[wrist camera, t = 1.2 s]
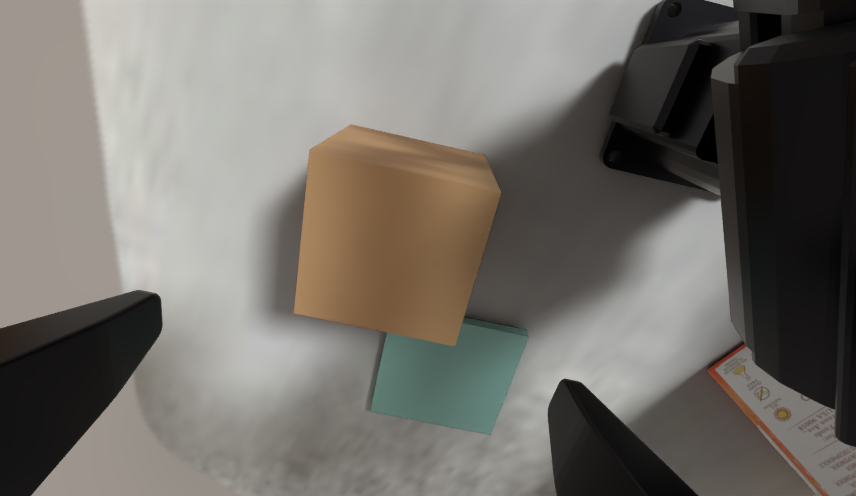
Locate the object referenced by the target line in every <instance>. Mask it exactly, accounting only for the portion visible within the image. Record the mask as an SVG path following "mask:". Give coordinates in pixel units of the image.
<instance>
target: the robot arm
mask: <svg viewBox="0 0 856 496" xmlns="http://www.w3.org/2000/svg"><path fill="white" fill-rule="evenodd" d="M670 4H674V5H675V6H676V13H675V15H674V16H673V17H672V18H671V17H669V16H668V13H667V11H668V7H669V6H670ZM733 5H734V8H732V7H728V6H724V5H721V4H717V3H713V2H709V1H705V0H662V1H661V2H660V3H659V5H658V6H657V8H656V11H655V13H654V16H653V18H652V21H651V24H650V26H649V29H648V31H647V34H646V36H645V39H644V42H643V44H642V45H641V46H640V47H638V48H636V49H635V50H634V51H633V53H632V56H631V59H630V61H629V64H628V67H627V69H626V72H625V74H624V77H623V80H622V82H621V85H620V87H619V90H618V93H617V95H616V98H615V100H614V103H613V106H612V108H611V111H610V116H611V119H612V124H611V126H610V129H609V131H608V134H607V136H606V139H605V141H604V144H603V147H602V149H601V152H600V156H599V157H600V161H601V162H602V164H603V165H605V166H607V167H609V168H611V169H616V170H620V171H624V172H629V173H633V174H637V175H642V176H646V177H650V178H655V179H659V180H663V181H668V182H672V183H676V184H681V185H685V186H689V187H694V188H698V189H702V190H707V191H711V192H713V193H715V194H717V195H719V196H721V207H722V219H723V231H724V243H725V255H726V267H727V279H728V291H729V303H730V315H731V322H732V324H733V325H734V327H735V329H736V330H737V332H738V333H739V335H740V337H741V338H742V340H743V342H744V343H745V345H746V346H747V347H748V348H749V349H750V350H751V351H752V360H753V362H754V363H755V365H757V366H758V367H759V368H761V369H762V370H763V371H765V372H766V373H767V374H769V375H770V376H771V377H773V378H774V379H775V380H777V381H778V382H779V383H781V384H783V385H784V386H786V387H788V388H790V389H792V390H794V391H796V392H798V393H800V394H802V395H804V396H806V397H808V398H810V399H811V400H813V401H815V402H817V403H819V404H821V405H824V406H826V407H829V408H831V409H834V410H835V425H834V434H835V437H836V438H837V439H838V440H839V441H840V442H842V443H844V444H846V445H850V446H853V447H856V0H733ZM613 151H617V153H618V154H617V157H616V159H614V160H612V161H609V155H610V153H611V152H613ZM161 330H162V308H161V298H160V296H159V295H158V294H156V293H152V292H147V291H142V290H136V291H132V292H129V293H125V294H122V295H118V296H115V297H111V298H107V299H104V300H100V301H97V302H93V303H90V304H86V305H83V306H79V307H75V308H72V309H68V310H65V311H61V312H57V313H54V314H50V315H47V316H44V317H40V318H36V319H32V320H29V321H26V322H22V323H18V324H15V325H11V326H7V327H4V328H0V496H31V495H32V494H33V493H34V491H35V490H36V489H37V488H38V487H39V485H40V484H41V483H42V482H43V481H44V480H45V479H46V477H47V476H48V475H49V474H50V473H51V472H52V471H53V469H54V468H55V467H56V466H57V465H58V464H59V462H60V461H61V460H62V459H63V457H65V455H66V454H67V453H68V452H69V451H70V450H71V449H72V447H73V446H74V445H75V444H76V443H77V441H78V440H79V439H80V438H81V437H82V436H83V435H84V433H85V432H86V431H87V430H88V429H89V428H90V427H91V425H92V424H93V423H94V422H95V421H96V420H97V418H98V417H99V416H100V415H101V414H102V412H103V411H104V410H105V409H106V408H107V407H108V406H109V404H110V403H111V402H112V401H113V399H114V398H115V397H116V396H117V394H118V393H119V392H120V391H121V389H122V388H123V387H124V385H125V384H126V382H127V381H128V379H129V378H130V377H131V375H132V374H133V372H134V371H135V370H136V368H137V367H138V365H139V364H140V362H141V361H142V360H143V358H144V357H145V355H146V354H147V352H148V351H149V350H150V348H151V347H152V345H153V344H154V342H155V341H156V340H157V338H158V337H159V335H160V333H161ZM548 423H549V433H550V444H551V454H552V465H553V474H554V482H555V488H556V493H557V496H698V495H697V494H696V493H695V492H694V491H693V490H692V489H691V488H690V487H689V486H688V485H687V484H686V483H685V482H684V481H683V480H682V479H681V478H680V477H679V476H677V475H676V474H675V473H674V472H673V471H672V470H671V469H670V468H669V467H668V466H667V465H666V464H665V463H664V462H663V461H662V460H661V459H660V458H659V457H658V456H657V455H656V454H655V453H654V452H653V451H652V450H651V449H650V448H649V447H648V446H646V445H645V444H644V443H643V442H642V441H641V440H640V439H639V438H638V437H637V436H636V435H635V434H634V433H633V432H632V431H631V430H630V429H629V428H628V427H627V426H626V425H625V424H624V423H623V422H622V421H621V420H620V419H619V418H618V417H617V416H615V415H614V414H613V413H612V412H611V411H610V410H609V409H608V408H607V407H606V406H605V405H604V404H603V403H602V402H601V401H600V400H599V399H598V398H597V397H596V396H595V395H594V394H593V393H592V392H591V391H590V390H589V389H588V388H587V387H586V386H584V385H583V384H582V383H581V382H578V381H574V380H569V379H563V380H561V381H560V383H559V384H558V387H557V389H556V391H555V393H554V395H553V397H552V400H551V402H550V404H549V407H548Z"/></svg>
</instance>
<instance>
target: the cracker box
mask: <svg viewBox="0 0 856 496" xmlns="http://www.w3.org/2000/svg"><path fill="white" fill-rule="evenodd" d="M708 373H709V374H710V375H711V376H712V377H713V378H714V379H715V381H716V382H717V383H718V384H719V385H720V386H721V387H722V388H723V389H724V391H725V392H726V393H727V394H728V395H729V396H730V397H731V398H732V400H733V401H734V402H735V403H736V404H737V405H738V406H739V407H740V409H741V410H742V411H743V412H744V413H745V414H746V415H747V416H748V418H749V419H750V420H751V421H752V422H753V423H754V424H755V425H756V427H757V428H758V429H759V430H760V431H761V432H762V433H763V435H764V436H765V437H766V438H767V439H768V441H769V442H770V443H771V444H772V445H773V446H774V447H775V449H776V450H777V451H778V452H779V453H780V454H781V455H782V456H783V457H784V459H785V460H786V461H787V462H788V463H789V464H790V465H791V466H792V468H793V469H794V470H795V471H796V472H797V473H798V474H799V475H800V476H801V478H802V479H803V480H804V481H805V482H806V483H807V484H808V485H809V487H810V488H811V489H812V490H813V491H814V492H815V493H816V494H817V496H856V447H853V446H850V445H846V444H844V443H842V442H840V441H839V440H838V439H837V438H836V437H835V434H834V425H835V410H834V409H831V408H829V407H826V406H824V405H821V404H819V403H817V402H815V401H813V400H811V399H810V398H808V397H806V396H804V395H802V394H800V393H798V392H796V391H794V390H792V389H790V388H788V387H786V386H784V385H783V384H781V383H779V382H778V381H777V380H775V379H774V378H773V377H771V376H770V375H769V374H767V373H766V372H765V371H763V370H762V369H761V368H759V367H758V366H757V365H755V363H754V362H753V360H752V351H751V350H750V349H749V348H748V347H747V346H746V345H745V344H743V345H742V346H741V347H739V348H738V349H736V350H735V351H733V352H732V353H730V354H729V355H727V356H726V357H724V358H723V359H722V360H720V361H719V362H717V363H716V364H714V365H713V366H712V367H710V368H709V369H708Z"/></svg>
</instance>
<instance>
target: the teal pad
mask: <svg viewBox="0 0 856 496" xmlns="http://www.w3.org/2000/svg"><path fill="white" fill-rule="evenodd" d="M527 339H528V334H527V330H524V329H519V328H514V327H509V326H505V325H500V324H495V323H490V322H485V321H481V320H476V319H471V318H466V317H464V319H463V322H462V325H461V329H460V332H459V335H458V338H457V342H456V345H455V346H451V345H446V344H441V343H436V342H431V341H427V340H422V339H417V338H412V337H407V336H402V335H397V334H392V333H387V334H386V339H385V343H384V348H383V353H382V357H381V362H380V367H379V371H378V376H377V381H376V385H375V390H374V395H373V400H372V404H371V409H370V412H375V413H380V414H385V415H390V416H396V417H401V418H406V419H411V420H416V421H421V422H427V423H432V424H437V425H442V426H447V427H452V428H457V429H463V430H468V431H473V432H478V433H483V434H488V435H490V434H491V432H492V429H493V427H494V424H495V421H496V419H497V416H498V414H499V411H500V409H501V406H502V403H503V401H504V398H505V396H506V393H507V391H508V388H509V386H510V383H511V380H512V378H513V375H514V373H515V370H516V368H517V365H518V362H519V360H520V357H521V355H522V352H523V350H524V347H525V345H526V342H527Z"/></svg>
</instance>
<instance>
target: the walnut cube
mask: <svg viewBox="0 0 856 496" xmlns="http://www.w3.org/2000/svg"><path fill="white" fill-rule="evenodd" d="M500 196H501V190H500V188H499V186H498V184H497V181H496V179H495V177H494V175H493V172H492V170H491V168H490V166H489V163H488V161H487V159H486V156H485V155H482V154H478V153H473V152H469V151H465V150H460V149H456V148H452V147H447V146H443V145H439V144H434V143H430V142H425V141H421V140H417V139H412V138H408V137H404V136H399V135H395V134H391V133H386V132H382V131H377V130H373V129H369V128H364V127H360V126H356V125H350V126H348V127H346V128H345V129H343V130H341V131H340V132H338V133H336V134H335V135H333V136H331V137H330V138H328V139H326V140H325V141H323V142H321V143H320V144H318V145H317V146H315V147H313V148H312V149H310V150H309V161H308V171H307V181H306V192H305V202H304V212H303V223H302V233H301V244H300V254H299V264H298V275H297V285H296V295H295V306H294V314H299V315H304V316H309V317H314V318H319V319H324V320H329V321H333V322H338V323H343V324H348V325H353V326H358V327H363V328H368V329H373V330H378V331H382V332H387V333H392V334H397V335H402V336H407V337H412V338H417V339H422V340H427V341H431V342H436V343H441V344H446V345H451V346H455V345H456V342H457V338H458V335H459V332H460V329H461V325H462V322H463V319H464V315H465V312H466V309H467V305H468V302H469V299H470V295H471V292H472V289H473V286H474V282H475V279H476V276H477V272H478V269H479V266H480V262H481V259H482V256H483V253H484V249H485V246H486V243H487V239H488V236H489V233H490V229H491V226H492V223H493V220H494V216H495V213H496V210H497V206H498V203H499V200H500Z"/></svg>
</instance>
